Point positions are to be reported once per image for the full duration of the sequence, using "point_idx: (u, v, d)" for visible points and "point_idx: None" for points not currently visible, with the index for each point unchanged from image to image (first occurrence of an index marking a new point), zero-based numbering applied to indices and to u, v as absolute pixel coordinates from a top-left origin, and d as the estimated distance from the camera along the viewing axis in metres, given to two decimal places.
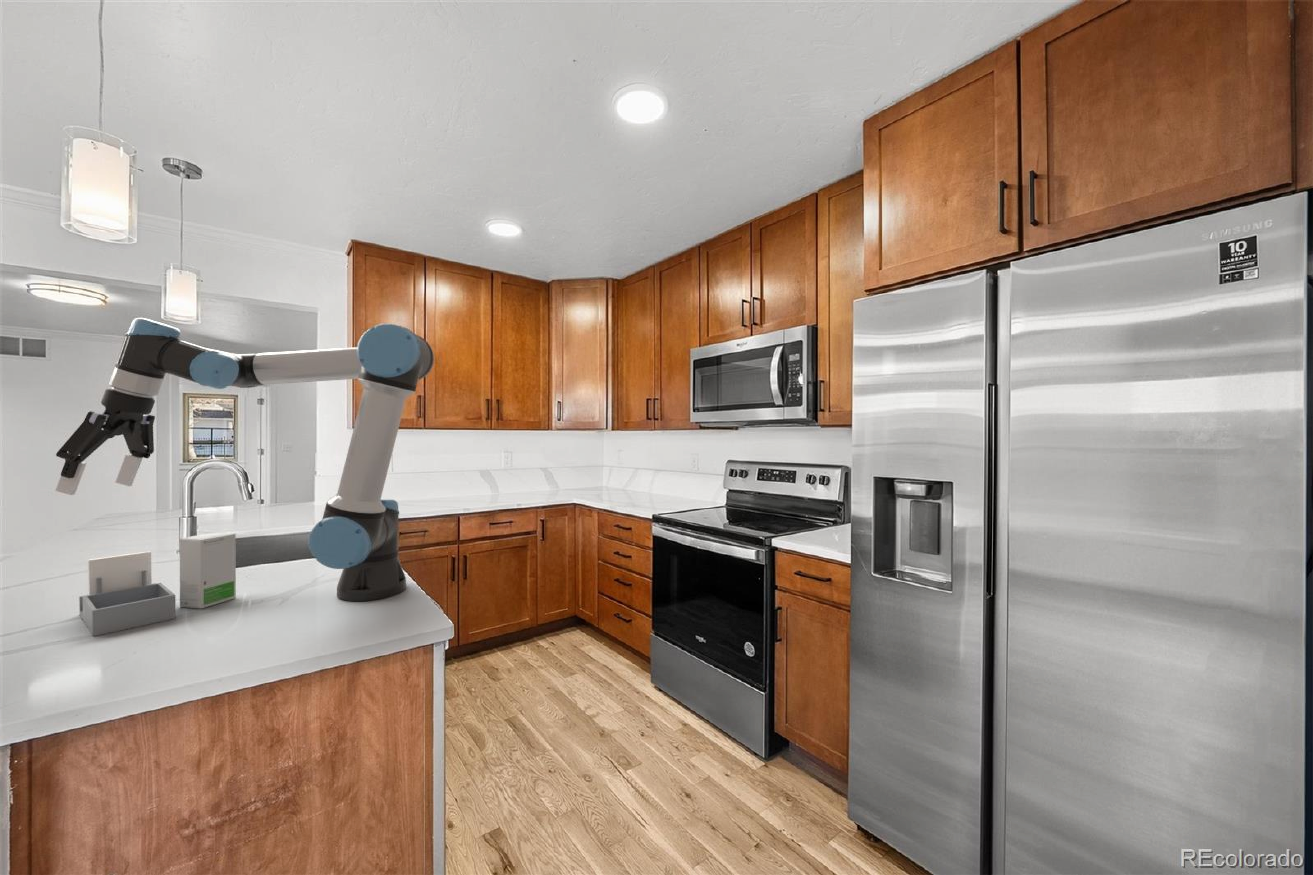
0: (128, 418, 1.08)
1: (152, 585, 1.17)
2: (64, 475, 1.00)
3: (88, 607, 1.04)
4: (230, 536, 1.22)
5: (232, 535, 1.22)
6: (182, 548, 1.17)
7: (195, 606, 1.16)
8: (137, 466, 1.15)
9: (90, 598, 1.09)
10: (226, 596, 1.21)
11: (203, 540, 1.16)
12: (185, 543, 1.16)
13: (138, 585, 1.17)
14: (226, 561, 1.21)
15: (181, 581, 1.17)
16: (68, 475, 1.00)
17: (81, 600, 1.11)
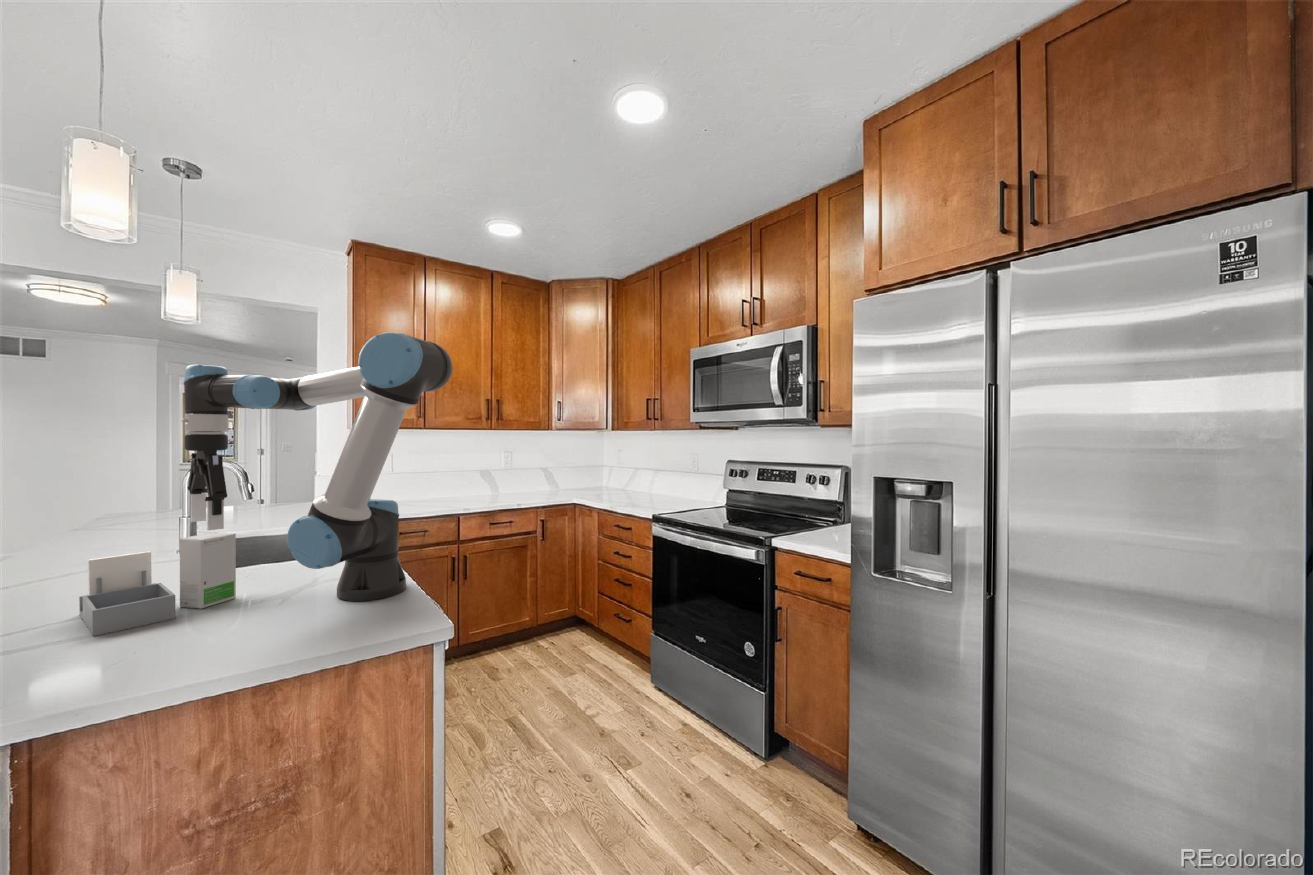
0: None
1: (152, 585, 1.17)
2: (217, 513, 1.15)
3: (88, 607, 1.04)
4: (230, 536, 1.22)
5: (232, 535, 1.22)
6: (182, 548, 1.17)
7: (195, 606, 1.16)
8: None
9: (90, 598, 1.09)
10: (226, 596, 1.21)
11: (203, 540, 1.16)
12: (185, 543, 1.16)
13: (138, 585, 1.17)
14: (226, 561, 1.21)
15: (181, 581, 1.17)
16: (221, 511, 1.15)
17: (81, 600, 1.11)
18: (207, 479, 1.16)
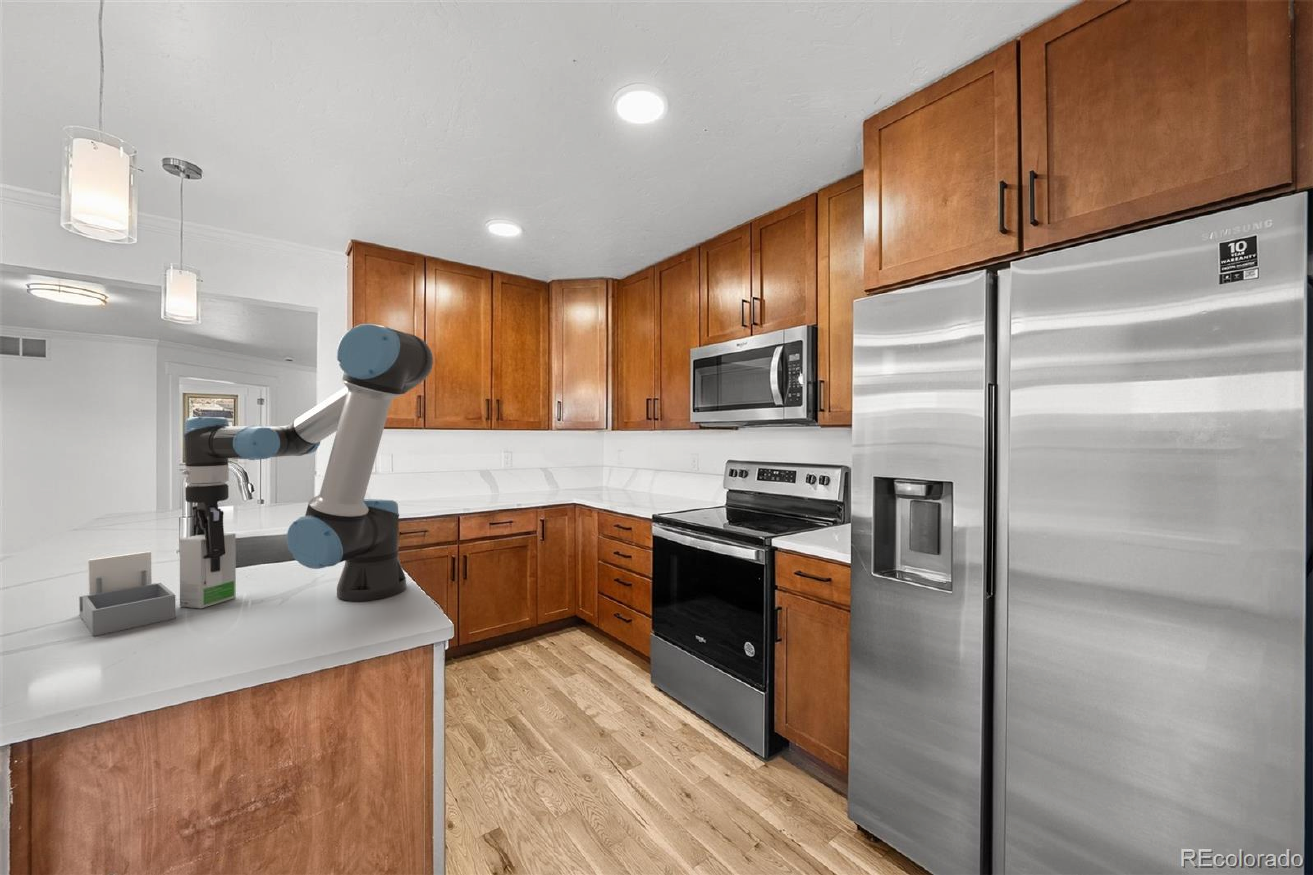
0: None
1: (152, 585, 1.17)
2: (215, 570, 1.16)
3: (88, 607, 1.04)
4: (230, 536, 1.22)
5: (232, 535, 1.22)
6: (182, 548, 1.17)
7: (195, 606, 1.16)
8: None
9: (90, 598, 1.09)
10: (226, 596, 1.21)
11: (203, 540, 1.16)
12: (185, 543, 1.16)
13: (138, 585, 1.17)
14: (226, 561, 1.21)
15: (181, 581, 1.17)
16: (219, 568, 1.17)
17: (81, 600, 1.11)
18: (207, 534, 1.17)
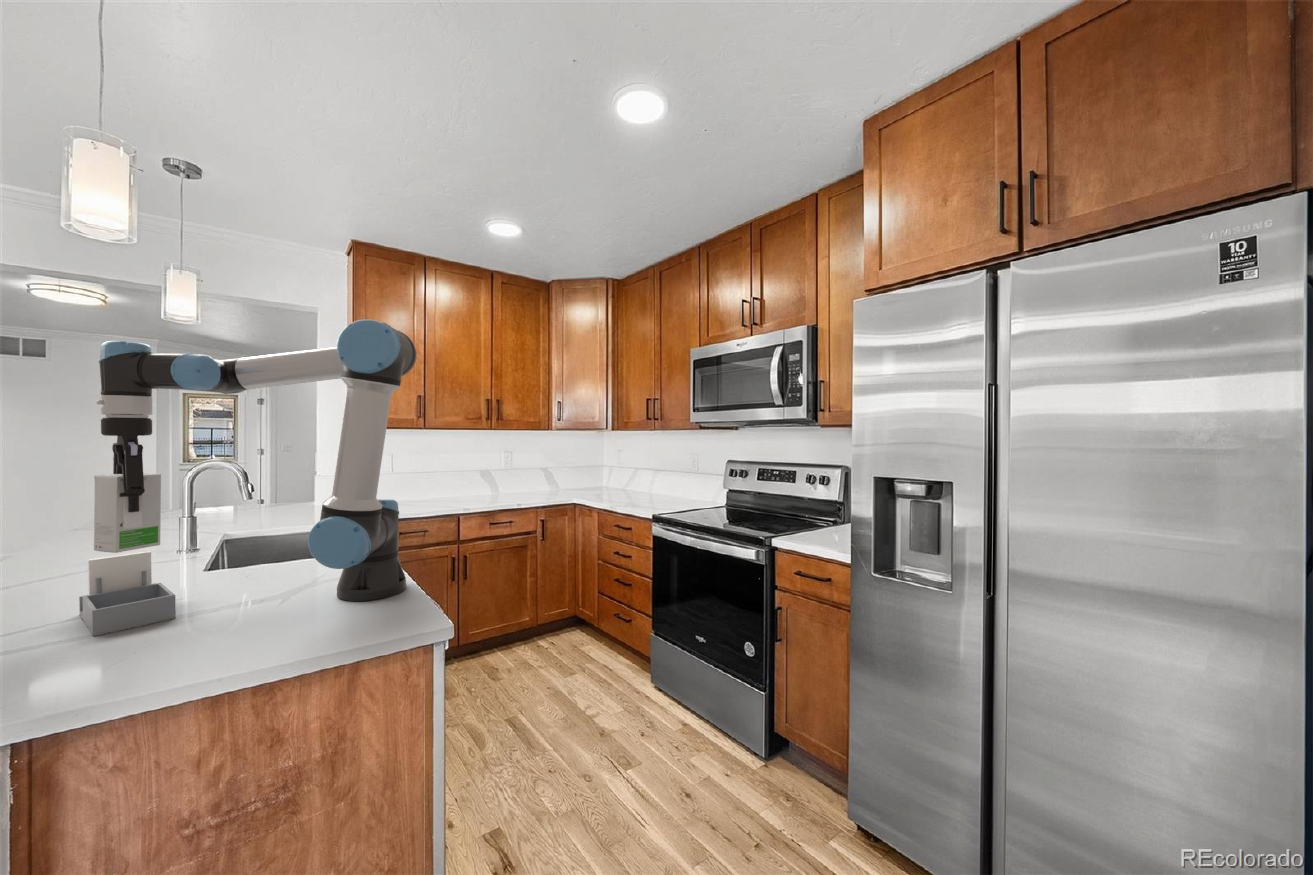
0: None
1: (152, 585, 1.17)
2: (133, 510, 1.05)
3: (88, 607, 1.04)
4: (154, 476, 1.11)
5: (157, 475, 1.11)
6: (97, 486, 1.05)
7: (110, 550, 1.05)
8: None
9: (90, 598, 1.09)
10: (147, 542, 1.10)
11: (120, 477, 1.05)
12: (100, 481, 1.05)
13: (138, 585, 1.17)
14: (149, 503, 1.10)
15: (96, 523, 1.06)
16: (138, 508, 1.06)
17: (81, 600, 1.11)
18: (124, 471, 1.06)
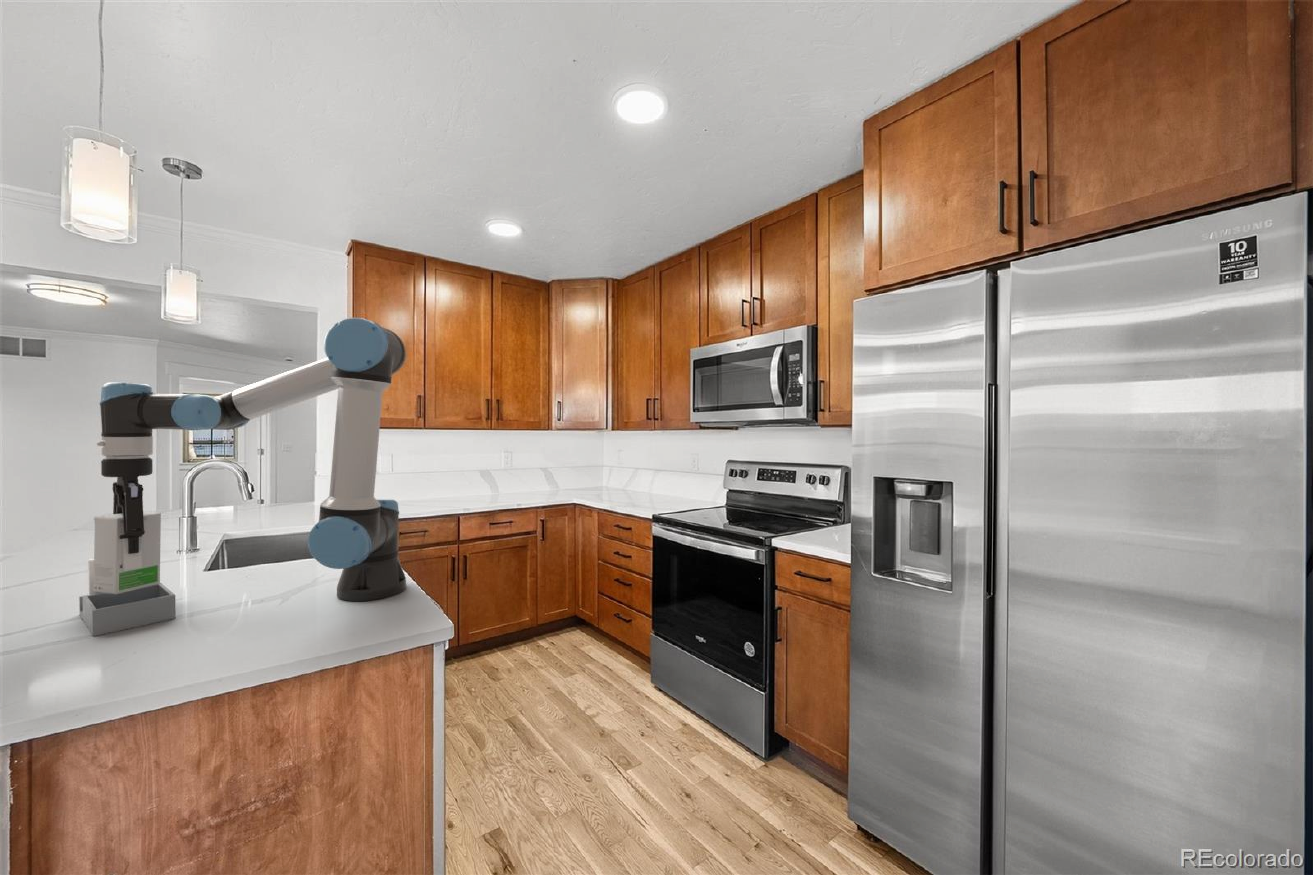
0: None
1: None
2: (133, 552, 1.06)
3: (88, 607, 1.04)
4: (154, 515, 1.11)
5: (156, 515, 1.11)
6: (97, 527, 1.06)
7: (109, 591, 1.05)
8: None
9: (90, 598, 1.09)
10: (147, 581, 1.10)
11: (120, 519, 1.05)
12: (100, 522, 1.05)
13: None
14: (149, 543, 1.10)
15: (96, 564, 1.06)
16: (138, 549, 1.06)
17: (81, 600, 1.11)
18: (124, 512, 1.06)
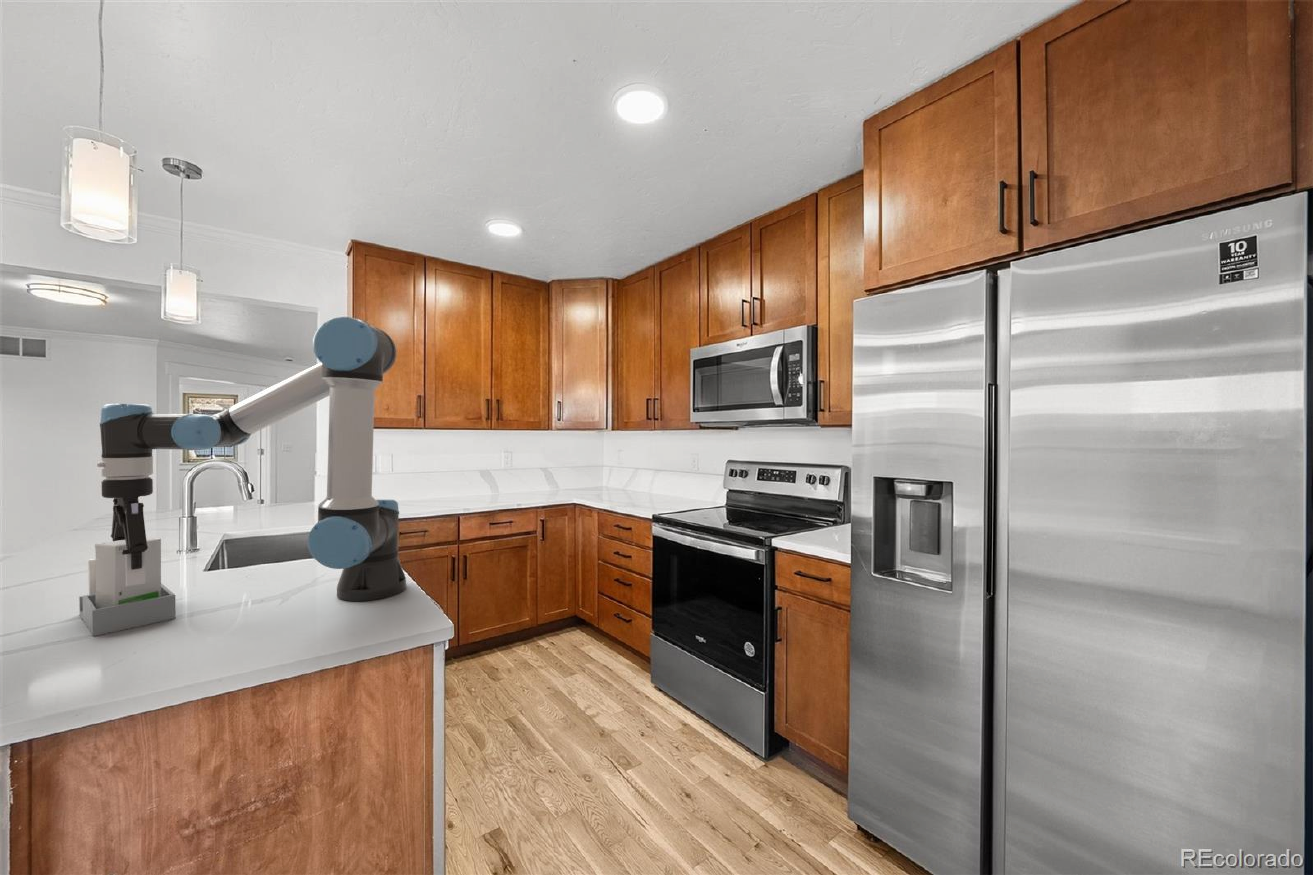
0: None
1: None
2: (136, 567, 1.04)
3: (88, 607, 1.04)
4: (154, 541, 1.11)
5: (156, 540, 1.12)
6: (98, 554, 1.06)
7: None
8: None
9: (90, 598, 1.09)
10: None
11: (118, 546, 1.06)
12: (100, 549, 1.06)
13: None
14: (149, 569, 1.10)
15: (97, 591, 1.06)
16: (141, 565, 1.05)
17: (81, 600, 1.11)
18: (126, 529, 1.05)
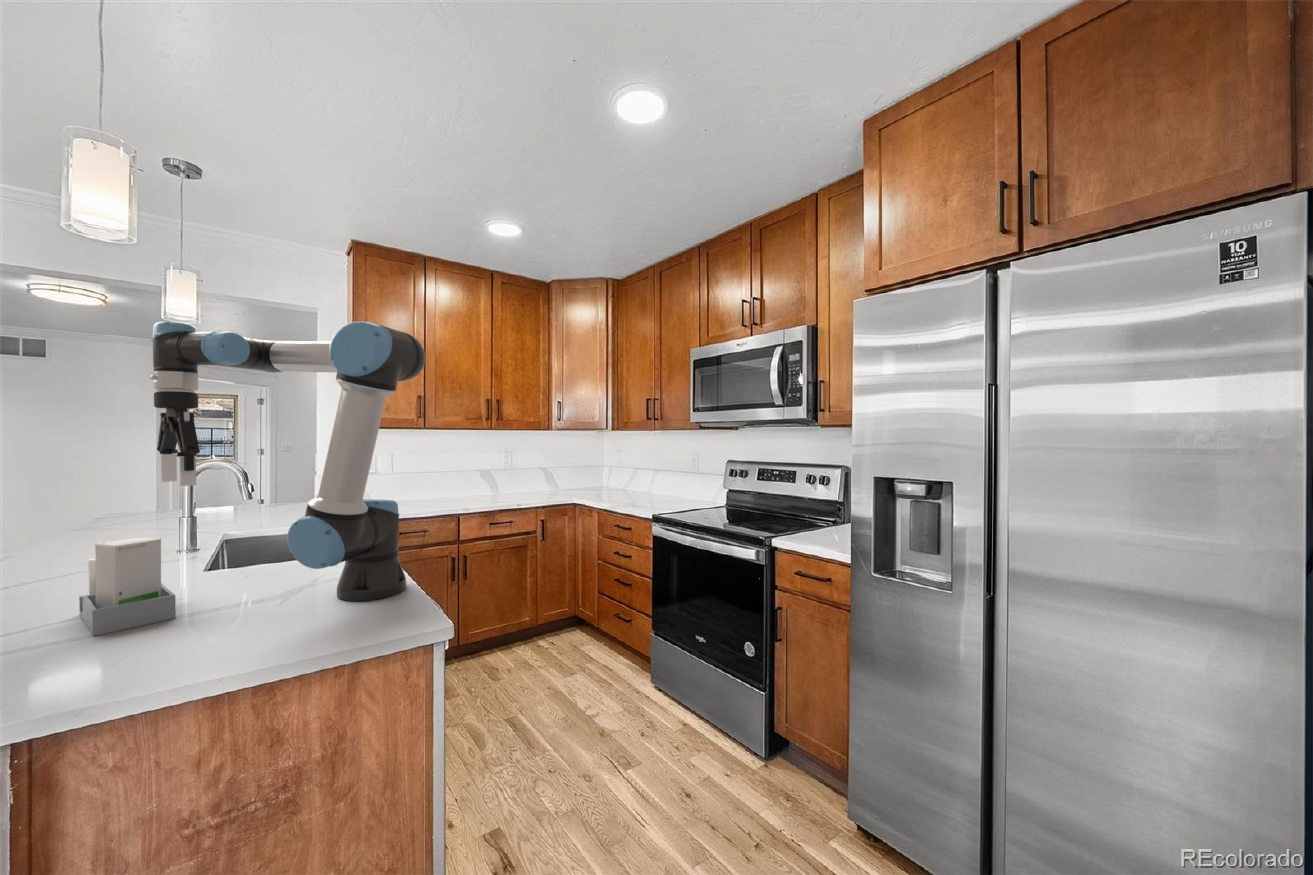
0: None
1: None
2: (189, 469, 1.15)
3: (88, 607, 1.04)
4: (154, 541, 1.11)
5: (156, 540, 1.12)
6: (98, 554, 1.06)
7: None
8: None
9: (90, 598, 1.09)
10: None
11: (118, 546, 1.06)
12: (100, 549, 1.06)
13: None
14: (149, 569, 1.10)
15: (97, 591, 1.06)
16: (193, 467, 1.16)
17: (81, 600, 1.11)
18: (178, 435, 1.16)
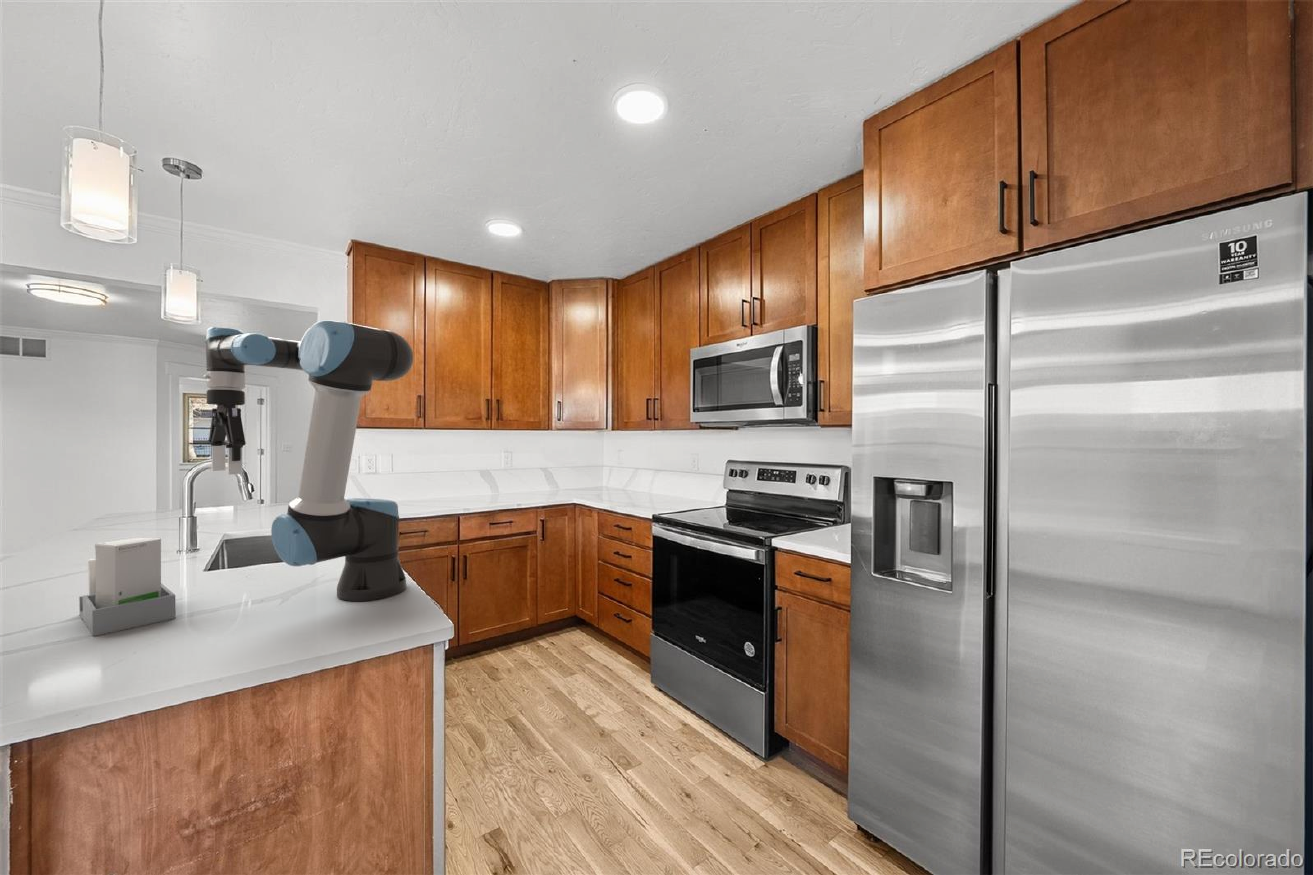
0: None
1: None
2: (236, 459, 1.28)
3: (88, 607, 1.04)
4: (154, 541, 1.11)
5: (156, 540, 1.12)
6: (98, 554, 1.06)
7: None
8: None
9: (90, 598, 1.09)
10: None
11: (118, 546, 1.06)
12: (100, 549, 1.06)
13: None
14: (149, 569, 1.10)
15: (97, 591, 1.06)
16: (240, 458, 1.29)
17: (81, 600, 1.11)
18: (227, 429, 1.29)
